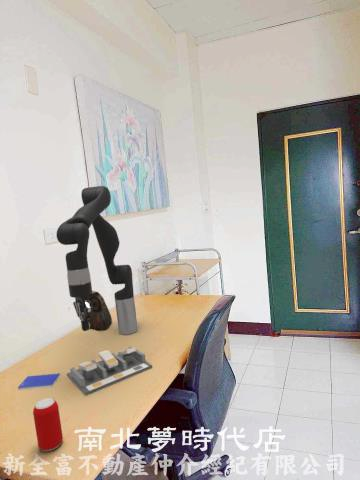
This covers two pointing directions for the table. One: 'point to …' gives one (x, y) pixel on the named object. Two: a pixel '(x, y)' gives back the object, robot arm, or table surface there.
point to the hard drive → (39, 381)
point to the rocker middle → (108, 359)
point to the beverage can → (47, 424)
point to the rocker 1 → (87, 366)
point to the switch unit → (109, 372)
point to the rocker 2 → (127, 351)
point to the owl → (99, 312)
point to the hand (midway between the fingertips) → (85, 330)
